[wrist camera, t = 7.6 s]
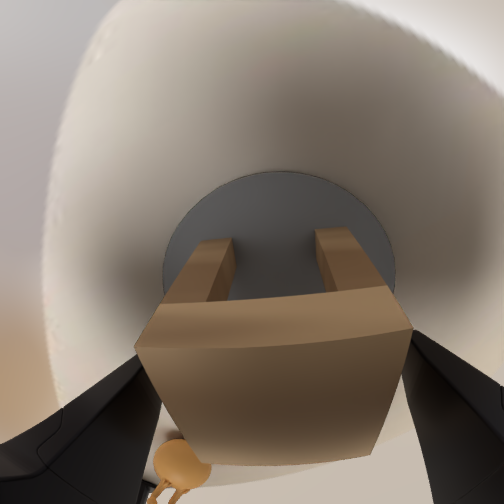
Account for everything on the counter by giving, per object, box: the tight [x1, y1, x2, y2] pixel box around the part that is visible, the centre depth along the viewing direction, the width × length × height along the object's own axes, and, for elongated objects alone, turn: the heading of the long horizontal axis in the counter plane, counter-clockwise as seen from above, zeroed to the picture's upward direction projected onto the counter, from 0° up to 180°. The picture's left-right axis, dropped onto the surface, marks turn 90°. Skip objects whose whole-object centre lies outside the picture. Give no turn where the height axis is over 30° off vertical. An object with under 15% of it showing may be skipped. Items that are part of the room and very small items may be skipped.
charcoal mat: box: [163, 172, 395, 301], centre depth 11 cm, size 9×9×1 cm
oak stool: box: [134, 227, 413, 466], centre depth 8 cm, size 5×5×6 cm
